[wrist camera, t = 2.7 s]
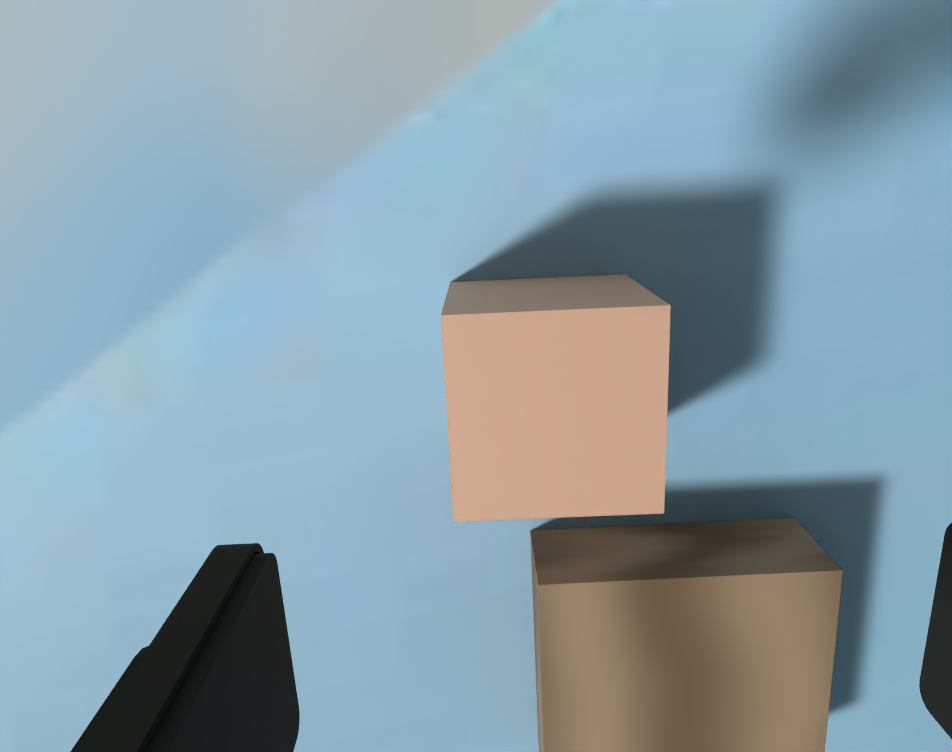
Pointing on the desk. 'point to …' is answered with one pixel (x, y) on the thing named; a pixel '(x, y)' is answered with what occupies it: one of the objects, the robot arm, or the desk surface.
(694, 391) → the desk surface
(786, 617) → the walnut block
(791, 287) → the desk surface
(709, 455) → the desk surface
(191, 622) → the robot arm
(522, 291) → the terracotta cube
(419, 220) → the desk surface
